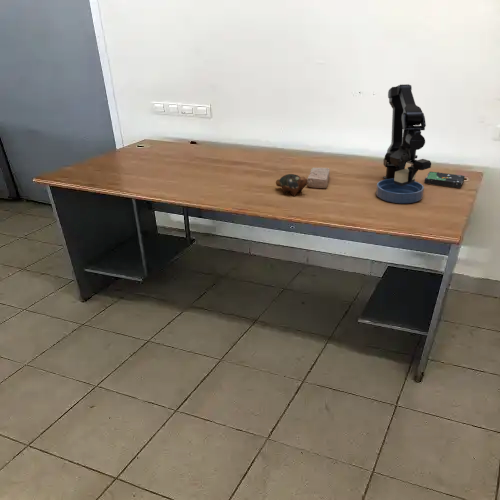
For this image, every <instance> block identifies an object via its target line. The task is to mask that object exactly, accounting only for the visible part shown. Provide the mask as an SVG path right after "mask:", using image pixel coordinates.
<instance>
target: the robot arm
mask: <svg viewBox="0 0 500 500" xmlns="http://www.w3.org/2000/svg"><path fill="white" fill-rule="evenodd" d="M412 90H413V89H412V85H411V84H409V83H408V84H399V85H397V86H392V87H391V88H389V89H388V92H387V98H388V103H389V105H390V107H391V109H392V117H391V141H390V145H389V146H388V148H387V150H386V153H385V154H384V158H383V166H384V167H385V168H386V171H385V176H384V175H383V176H382V179H383V180H385V179H392V178H394V177H395V172H396V171H399V170H403V169H406V165H407V164H410V166H407V168H408V170H409V175H408V183H409V182H411V180H412V179H413V177H414V176H415V177H416V175H415V174H417V173H418V171H425V170H427V169H431V168H432V161H431V160H429V159H426V158H420V159H418V155H417V151H418V150H421V149H422V148H424V146H425V145H426V139H425V136H423V135H422V131H425V130H426V127H427V123H426V116H425V114H424V112H423V110H422V108H421V107H420V106H418V105H416V101H415V98H414V95H413V92H412Z"/></svg>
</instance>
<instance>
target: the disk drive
mask: <svg viewBox="0 0 500 500" xmlns="http://www.w3.org/2000/svg"><path fill="white" fill-rule="evenodd" d="M465 177H466V176H465V175H461V174H452V173H446V172H439V171H429V172H428V173H427V174H426V177H425V178H424V184H427V185H433V186H439V187H440V186H441V187H447V188H454V189H455V188H456V189H461V187H462V186H463V183H464V181H465Z"/></svg>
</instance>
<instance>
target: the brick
mask: <svg viewBox="0 0 500 500" xmlns="http://www.w3.org/2000/svg"><path fill="white" fill-rule="evenodd" d="M330 171H331V169H330V168H329V167H312V168H311V169H310V171H309V175H307V178H306V179H307V180H308V183H307V187H309V188H318V189H327V187H328V184H329V180H330Z"/></svg>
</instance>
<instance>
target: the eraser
mask: <svg viewBox="0 0 500 500" xmlns="http://www.w3.org/2000/svg"><path fill="white" fill-rule="evenodd" d="M416 174H417V173H416ZM416 174H415V176H414V177H413V179H412V180H411V182H409V183H408V175H409V170H408V168H406V167H405V169H403V170H399V171H396V172H395V177H394V184H396V185H399V186H404V185H407V184H410V183H413V182H415V181H416Z"/></svg>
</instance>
